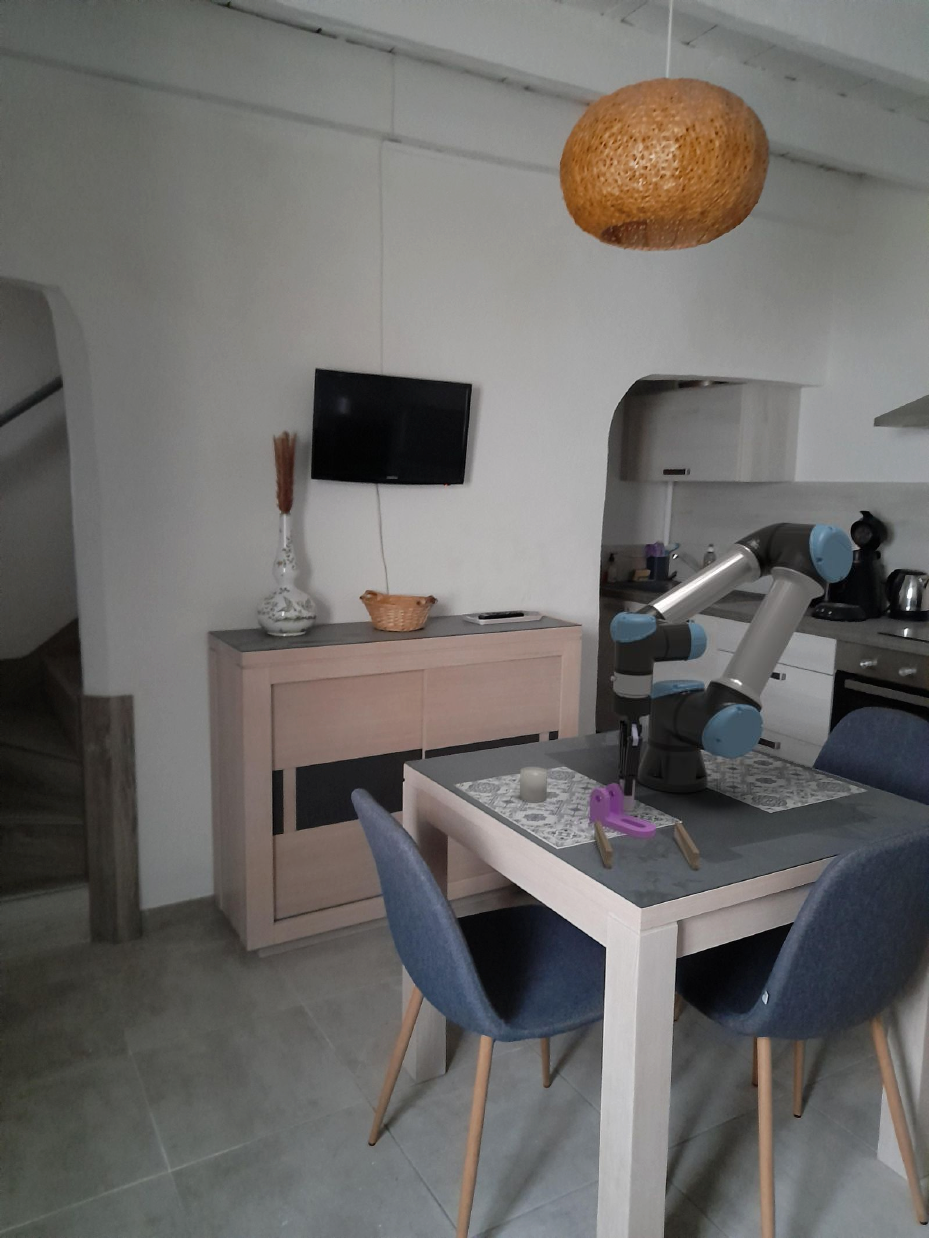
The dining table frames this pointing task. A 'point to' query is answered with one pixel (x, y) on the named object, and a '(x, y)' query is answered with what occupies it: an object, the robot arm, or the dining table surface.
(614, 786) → the bracket
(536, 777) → the white pillar candle
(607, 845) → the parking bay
